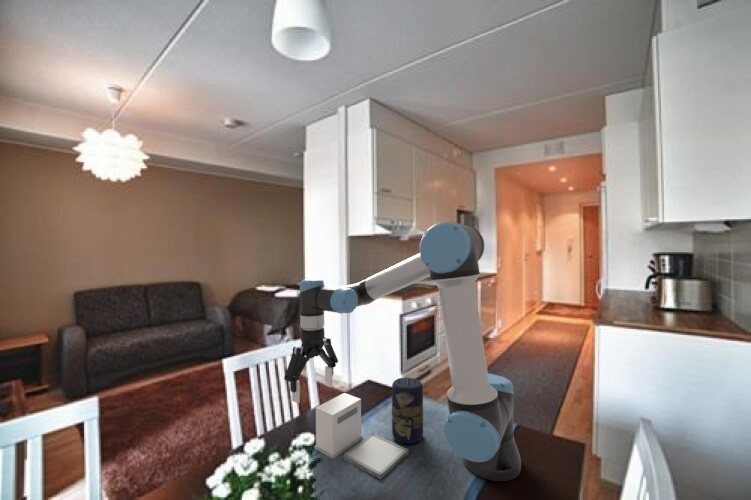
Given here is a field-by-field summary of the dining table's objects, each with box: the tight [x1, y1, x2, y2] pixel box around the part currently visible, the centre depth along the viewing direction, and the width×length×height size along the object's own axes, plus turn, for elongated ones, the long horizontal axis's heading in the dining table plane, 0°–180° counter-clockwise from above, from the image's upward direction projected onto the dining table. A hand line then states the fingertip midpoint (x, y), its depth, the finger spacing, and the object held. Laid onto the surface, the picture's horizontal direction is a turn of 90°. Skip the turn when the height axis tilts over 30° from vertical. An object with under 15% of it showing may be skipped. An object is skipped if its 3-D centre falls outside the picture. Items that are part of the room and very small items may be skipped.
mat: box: [342, 433, 410, 480], centre depth 91 cm, size 13×13×1 cm
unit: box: [314, 392, 364, 460], centre depth 97 cm, size 8×13×12 cm, turn 142°
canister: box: [391, 377, 424, 445], centre depth 100 cm, size 10×10×18 cm
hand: (313, 393), depth 105 cm, fingers open, 13 cm apart
